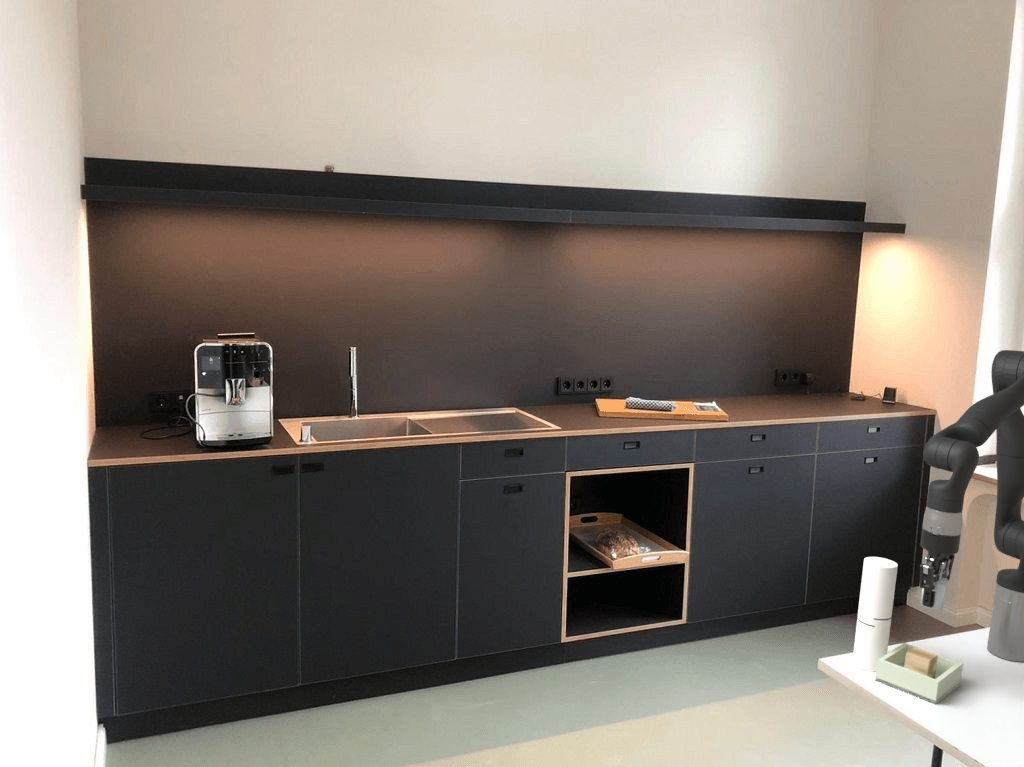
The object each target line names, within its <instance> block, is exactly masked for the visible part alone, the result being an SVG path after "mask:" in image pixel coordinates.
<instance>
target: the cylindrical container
mask: <svg viewBox="0 0 1024 767" xmlns="http://www.w3.org/2000/svg"><path fill="white" fill-rule="evenodd" d="M861 574H862V575H861V583H860V591H859V599H858V600H859V601H858V609H857V619H856V626H855V636H854V644H853V654H852V664H853V665H854V666H855V667H856V668H859V669H860V670H863V671H867V672H872V673H876V671H877V663H878V659H880V658H881V657H883V656H884V655H886V654H887V653H888V652H889V651H888V648H889V642H890V634H891V633H890V632H891V623H892V614H893V608H894V600H895V590H896V582H897V574H898V563H897V562H896V561H894V560H891V559H888V558H886V557H879V556H867V557H864V559H863V566H862V573H861Z"/></svg>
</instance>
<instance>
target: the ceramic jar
mask: <svg viewBox="0 0 1024 767" xmlns="http://www.w3.org/2000/svg"><path fill="white" fill-rule="evenodd" d="M934 577H937V575H934ZM947 583H948V578H947V577H944V576H942V577H941V581H939V582H938V583H937V587H936V593H935V601H934V606H933V607H931V608H930V607H927V606H924V605H923V604H922V601H923V593H924V589H923V588H921V589H922V590H921V594H920V595H921V597H920V605H921V606H923V607H924V608H928V609H931V610H935V611H937V610H938V611H941V610H943V609H944V606H945V599H946V592H947ZM927 584H929V582H928V583H927Z"/></svg>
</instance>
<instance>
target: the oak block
mask: <svg viewBox="0 0 1024 767" xmlns="http://www.w3.org/2000/svg"><path fill="white" fill-rule="evenodd" d="M917 647H918V646H915V647H914V648H913V649H911V650H910V651H908V652H907V653H906V657H905V665H904V668H907V669H909V670H912V671H915V672H917V673H920V674H923V675H925V676H928V677H931V678H933V679H935V674H936V667H937V659H938V655H939V654H937V653H935V654H934V652H932V651H929V650H926V649H923V648H921V649H920V647H918V648H917ZM925 650H926V651H925ZM928 651H929V652H928ZM931 652H932V653H931Z"/></svg>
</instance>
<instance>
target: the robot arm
mask: <svg viewBox="0 0 1024 767" xmlns="http://www.w3.org/2000/svg"><path fill="white" fill-rule="evenodd" d="M990 372H991V374H990V375H991V386H992V387H991V388H992V393H993V394H991V395H988V396H986V397H984V398H982V399H980V400H978V401H976V402H974V403H973V404H972V405H971V406H969V408H967V409H966V410H965V412H964V413H963V414H962V415H960V417H959V418H958V420H957V421H956V422H954V423H952V424H950V425H948V426H946V427H945V428H943V429H941V430H940V431H938V432H937V433H935V434H934V435H933V436H931V437H930V438H929V439H928V440H927V442H926V444H925V446H924V448H923V454H922V455H923V459H924V461H925V463H926V464H927V465H928V466H930V467H932V468H935V469H938V470H943V471H947V472H951V473H952V474H951V476H950V478H949V479H935V480H931V482H929V484H928V489H927V498H926V507H925V511H924V513H923V514H924V515H923V519H922V520H923V521H922V528H921V537H920V546H921V548H923V549H924V550H926V552H927V555H926V556H925V558H924V561H923V562H924V563H920V564H919V588H920V589H922V588H923V589H924V593H923V601H922V604H923V605H924V606H927V607H930V608H931V607H933V606H934V601H935V593H936V587H937V583H938V582H939V581H941V577H942V576H944V577H947V578H948V581H949V580H950V579H951V574H952V569H953V565H954V560H955V555H956V554H958V553H959V552H960V551H959V550H960V542H961V534H962V528H963V509H964V503H965V502H964V501H965V494H966V492H967V489H968V486H969V484H970V481H971V479H972V477H973V476H974V475H973V474H974V473H975V471H976V469H977V466H978V464H979V462H980V461H979V460H980V453H979V450H978V448H979V447H982V446H983V445H984V444H985V443H986V442H988V440H989V439H990V437H991V436H992V435H993V434H994V433H995V432H996V433H995V434H996V445H995V447H996V449H995V450H996V453H995V454H996V455H995V456H996V459H995V460H996V477H997V478H996V480H997V481H996V482H997V483H996V487H997V488H996V509H995V518H994V527H993V528H994V529H993V538H994V540H993V541H994V545H995V548H996V549H997V551H998V552H1000V553H1002V554H1004V555H1006V556H1008V557H1012V558H1014V559H1016V560H1019V563H1018V567H1017V568H1003V569H1001V570H999V571H998V572H997V574H996V582H995V588H994V595H993V602H992V610H991V618H990V624H989V625H990V626H989V632H988V638H987V645H986V647H987V648H986V649H987V651H988V653H990V654H992V655H994V656H996V657H997V658H1000V659H1004V660H1006V661H1007V660H1008V661H1010V662H1011V661H1012V662H1018V663H1019V662H1024V519H1022V503H1023V499H1024V413H1023V411H1022V409H1021V408H1022V407H1024V351H1023V350H1013V349H1012V350H1009V349H1004V350H1000V351H998V352H996V354H995V355H994V358H993V360H992V363H991V371H990ZM934 575H937V577H934ZM948 581H947V582H948ZM928 582H929V584H927V583H928ZM924 606H923V607H924ZM930 608H929V609H930Z"/></svg>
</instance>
